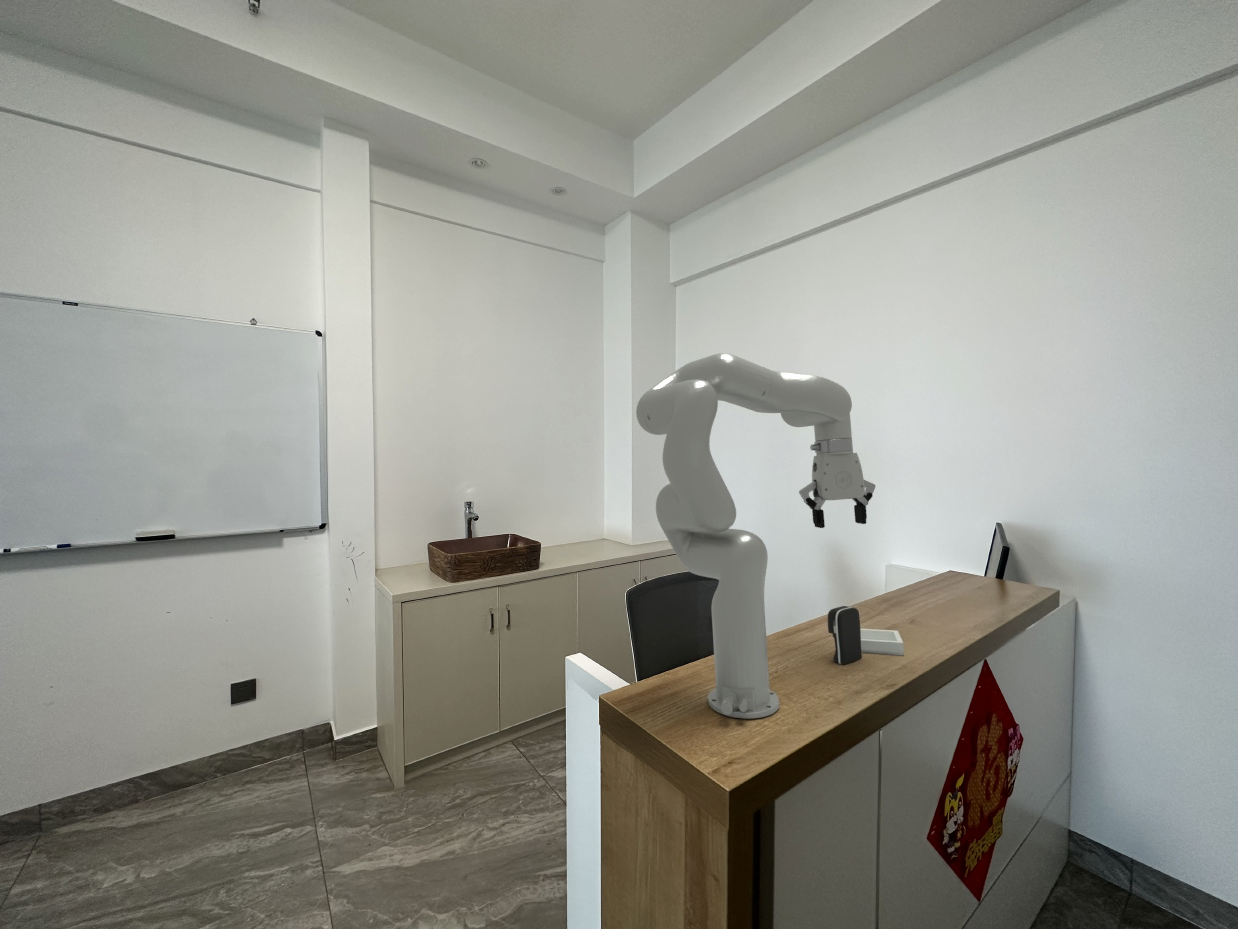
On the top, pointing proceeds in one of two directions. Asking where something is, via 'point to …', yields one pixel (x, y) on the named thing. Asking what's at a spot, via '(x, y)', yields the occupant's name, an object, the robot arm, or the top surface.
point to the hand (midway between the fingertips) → (840, 525)
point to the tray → (881, 642)
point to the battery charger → (845, 633)
